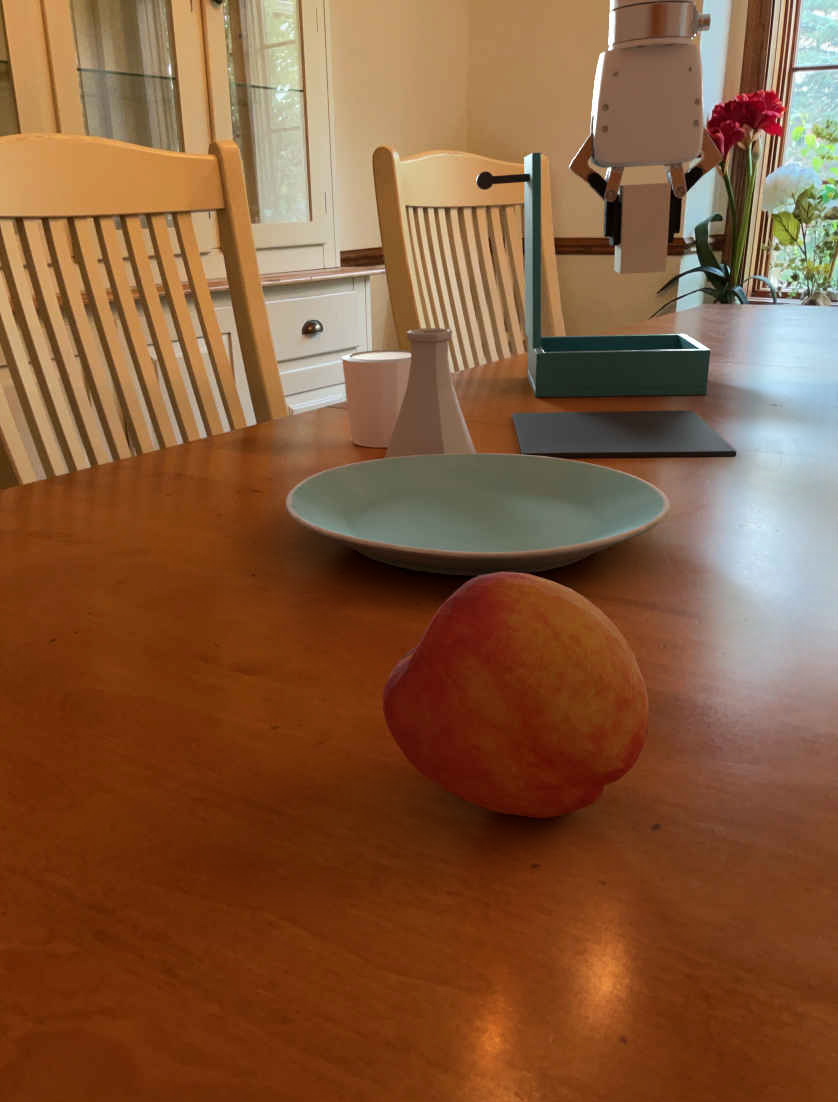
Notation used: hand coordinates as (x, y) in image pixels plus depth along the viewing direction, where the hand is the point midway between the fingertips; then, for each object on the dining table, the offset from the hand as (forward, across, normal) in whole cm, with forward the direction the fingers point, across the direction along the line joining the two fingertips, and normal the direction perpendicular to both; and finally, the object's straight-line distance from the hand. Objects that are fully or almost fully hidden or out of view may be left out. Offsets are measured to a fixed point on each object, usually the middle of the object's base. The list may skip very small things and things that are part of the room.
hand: (640, 241), depth 103 cm
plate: (+14, +17, +52) cm, 56 cm away
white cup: (+14, +24, +25) cm, 37 cm away
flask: (+14, +20, +35) cm, 43 cm away
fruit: (+14, +16, +81) cm, 84 cm away
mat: (+14, +5, +24) cm, 28 cm away
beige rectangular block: (+3, 0, 0) cm, 3 cm away
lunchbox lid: (0, +10, 0) cm, 10 cm away
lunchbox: (+14, +2, 0) cm, 14 cm away
